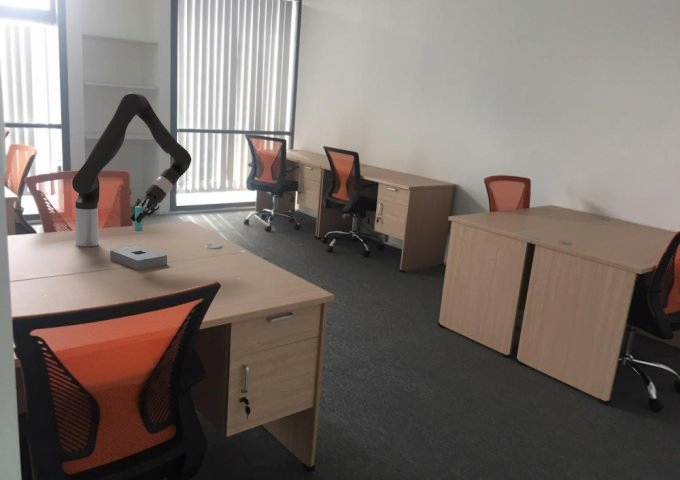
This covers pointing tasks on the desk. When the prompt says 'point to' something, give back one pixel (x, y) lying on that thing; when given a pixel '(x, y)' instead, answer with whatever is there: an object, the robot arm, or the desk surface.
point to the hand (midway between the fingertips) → (134, 220)
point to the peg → (137, 211)
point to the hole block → (138, 257)
